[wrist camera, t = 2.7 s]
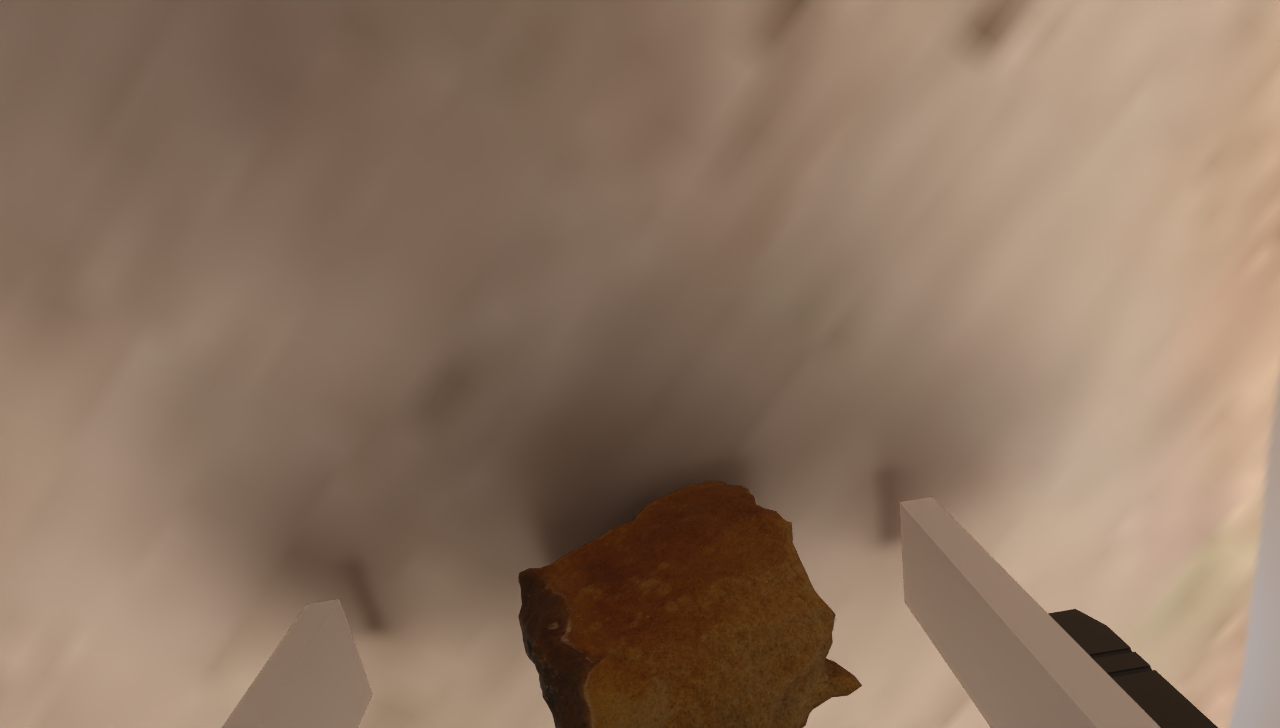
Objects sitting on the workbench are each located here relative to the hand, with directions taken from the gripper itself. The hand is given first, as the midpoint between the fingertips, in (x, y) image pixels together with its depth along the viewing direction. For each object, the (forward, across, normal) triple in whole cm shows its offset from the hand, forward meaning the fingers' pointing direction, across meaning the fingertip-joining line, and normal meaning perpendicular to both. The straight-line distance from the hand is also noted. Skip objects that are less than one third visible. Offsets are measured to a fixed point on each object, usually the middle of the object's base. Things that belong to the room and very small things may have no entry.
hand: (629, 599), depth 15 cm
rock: (+2, 0, 0) cm, 2 cm away
